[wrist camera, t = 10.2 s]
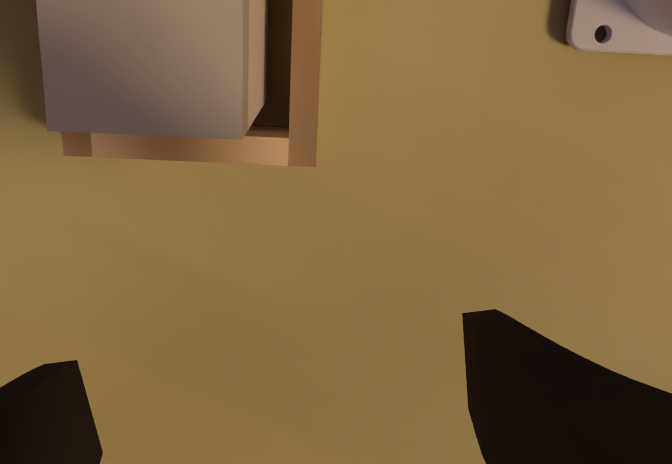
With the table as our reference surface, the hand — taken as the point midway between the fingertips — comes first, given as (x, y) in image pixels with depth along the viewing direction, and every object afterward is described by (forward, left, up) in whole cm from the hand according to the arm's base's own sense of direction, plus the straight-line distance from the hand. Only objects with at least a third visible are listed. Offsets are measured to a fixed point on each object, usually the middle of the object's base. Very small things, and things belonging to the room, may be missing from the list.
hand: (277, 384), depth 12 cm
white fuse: (+3, -6, -10) cm, 12 cm away
